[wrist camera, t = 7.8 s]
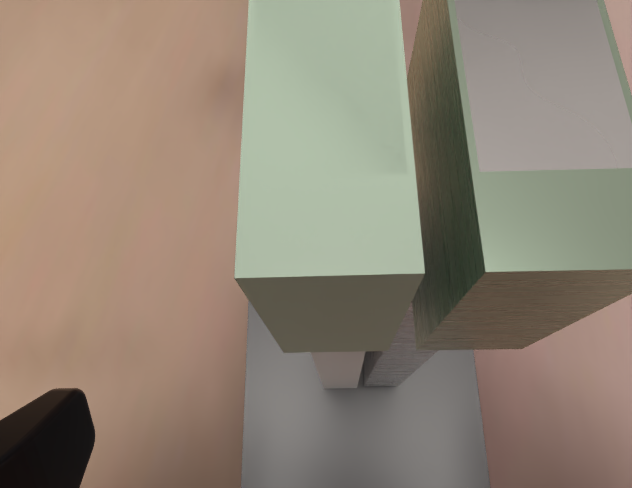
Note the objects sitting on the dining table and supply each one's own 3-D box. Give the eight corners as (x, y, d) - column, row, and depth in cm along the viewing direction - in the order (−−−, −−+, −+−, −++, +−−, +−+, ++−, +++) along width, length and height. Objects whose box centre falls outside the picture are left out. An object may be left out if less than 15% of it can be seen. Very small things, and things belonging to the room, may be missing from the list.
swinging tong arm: (402, 409, 14) (683, 268, 3) (364, 409, 14) (486, 272, 3) (395, 313, 15) (580, -77, 4) (359, 314, 16) (437, -72, 4)
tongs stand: (477, 484, 15) (1398, 765, 2) (250, 485, 16) (-309, 736, 2) (452, 267, 18) (774, -255, 5) (257, 272, 18) (17, -203, 5)
